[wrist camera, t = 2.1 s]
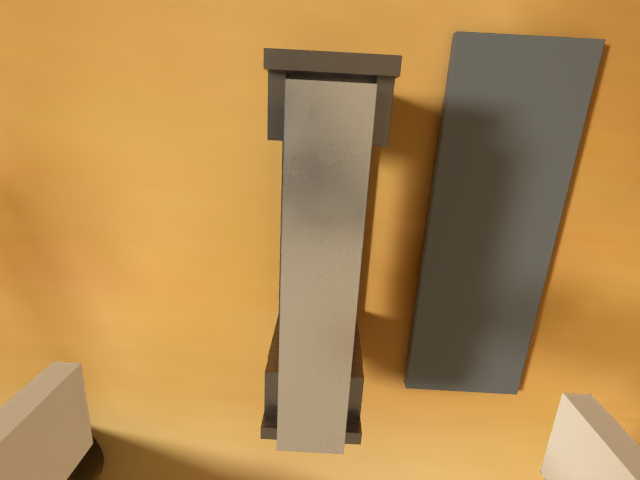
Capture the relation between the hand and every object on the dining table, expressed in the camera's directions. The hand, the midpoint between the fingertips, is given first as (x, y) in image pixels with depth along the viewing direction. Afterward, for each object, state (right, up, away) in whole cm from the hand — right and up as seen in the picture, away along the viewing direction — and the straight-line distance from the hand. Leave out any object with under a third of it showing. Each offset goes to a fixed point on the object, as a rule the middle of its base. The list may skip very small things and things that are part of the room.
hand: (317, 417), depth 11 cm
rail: (0, +4, +11) cm, 12 cm away
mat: (+12, +5, +18) cm, 22 cm away
